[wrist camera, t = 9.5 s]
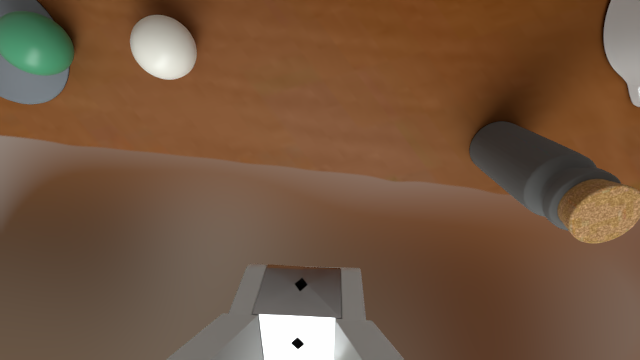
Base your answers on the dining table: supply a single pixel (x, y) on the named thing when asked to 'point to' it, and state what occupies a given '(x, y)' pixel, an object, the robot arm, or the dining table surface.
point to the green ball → (35, 43)
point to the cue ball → (163, 47)
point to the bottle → (556, 182)
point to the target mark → (23, 85)
